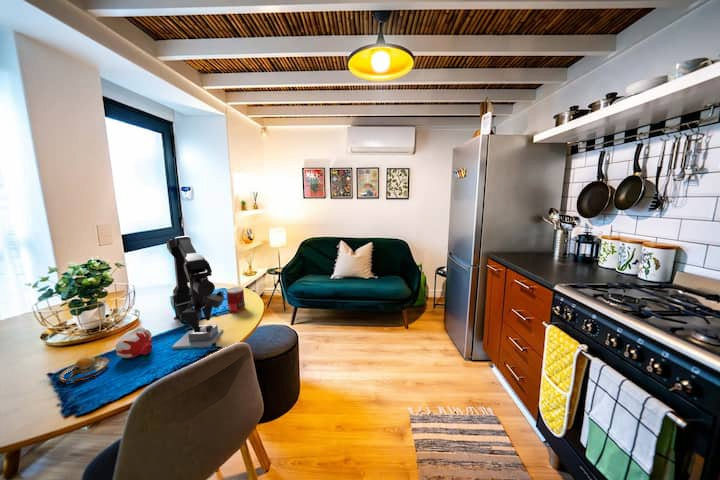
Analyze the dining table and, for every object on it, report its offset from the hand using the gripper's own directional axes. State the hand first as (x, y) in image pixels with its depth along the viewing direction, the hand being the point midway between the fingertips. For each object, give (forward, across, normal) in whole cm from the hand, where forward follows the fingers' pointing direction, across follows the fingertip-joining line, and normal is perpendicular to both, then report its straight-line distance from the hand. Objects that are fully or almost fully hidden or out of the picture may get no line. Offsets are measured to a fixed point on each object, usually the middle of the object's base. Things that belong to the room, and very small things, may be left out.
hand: (202, 325), depth 105 cm
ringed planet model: (+7, -17, +30) cm, 35 cm away
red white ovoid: (+6, -8, +20) cm, 23 cm away
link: (+5, 0, 0) cm, 5 cm away
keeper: (+6, 0, +2) cm, 6 cm away
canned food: (+6, +28, -3) cm, 29 cm away
